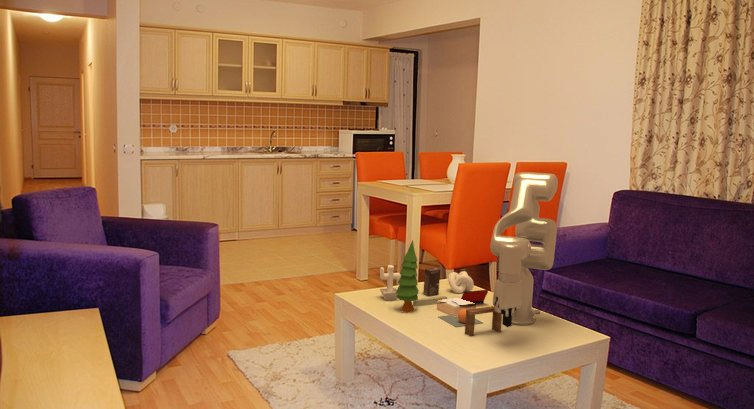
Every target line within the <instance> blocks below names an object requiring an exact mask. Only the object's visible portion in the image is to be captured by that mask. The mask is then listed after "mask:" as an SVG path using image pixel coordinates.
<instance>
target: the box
mask: <svg viewBox="0 0 754 409" xmlns="http://www.w3.org/2000/svg"><path fill="white" fill-rule="evenodd" d="M440 281H441V269H440V268H437V267H429V268H428V267H427V268H425V269H424V280H423V290H422V291H423V295H424V296H427V297H432V296H439V291H440Z"/></svg>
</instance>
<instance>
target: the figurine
mask: <svg viewBox="0 0 754 409" xmlns="http://www.w3.org/2000/svg"><path fill="white" fill-rule="evenodd" d="M394 270H395V266H394V265H392V264H388V265H387V269H386V272H387V273H385V268H384V267H383V266H382V267H381V266H380V268H379V278H380V280H382V281H383V280H384V281H386V288H379V291H380V293H381V295H382V298H383V299H384V300H385V301H396V300H397V299H398V298H397V295H398V293H396V291H397V289H398V288H395V287H394V280H396V285H397V286H399V285H400V284H398V281H399V279H400V277H401V274H400V272H394Z"/></svg>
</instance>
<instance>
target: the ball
mask: <svg viewBox="0 0 754 409" xmlns="http://www.w3.org/2000/svg"><path fill="white" fill-rule="evenodd" d="M466 310H468V309H467V308H462V309H460V310H459V311H458V313H457V314H458V319H459V320H460V321H461V322H462V323H465V321H466Z"/></svg>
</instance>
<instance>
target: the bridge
mask: <svg viewBox="0 0 754 409" xmlns="http://www.w3.org/2000/svg"><path fill="white" fill-rule="evenodd" d="M495 307H496V306H494V305H491V306H485V307H477V308H470V309H469V308H468V309H467V310H466V321H465V326H464V334H465V335H467V336H469V337H472V336H473V337H474V336H475V325H476V324H475V319H476V315H483V314H488V313H489V314H490V313H492V321H491V322H492V323H491V330H492V331H494V332H496V333H498V332H502V318H503V315H502V314H501V313H498V312H496V311H495Z"/></svg>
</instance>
